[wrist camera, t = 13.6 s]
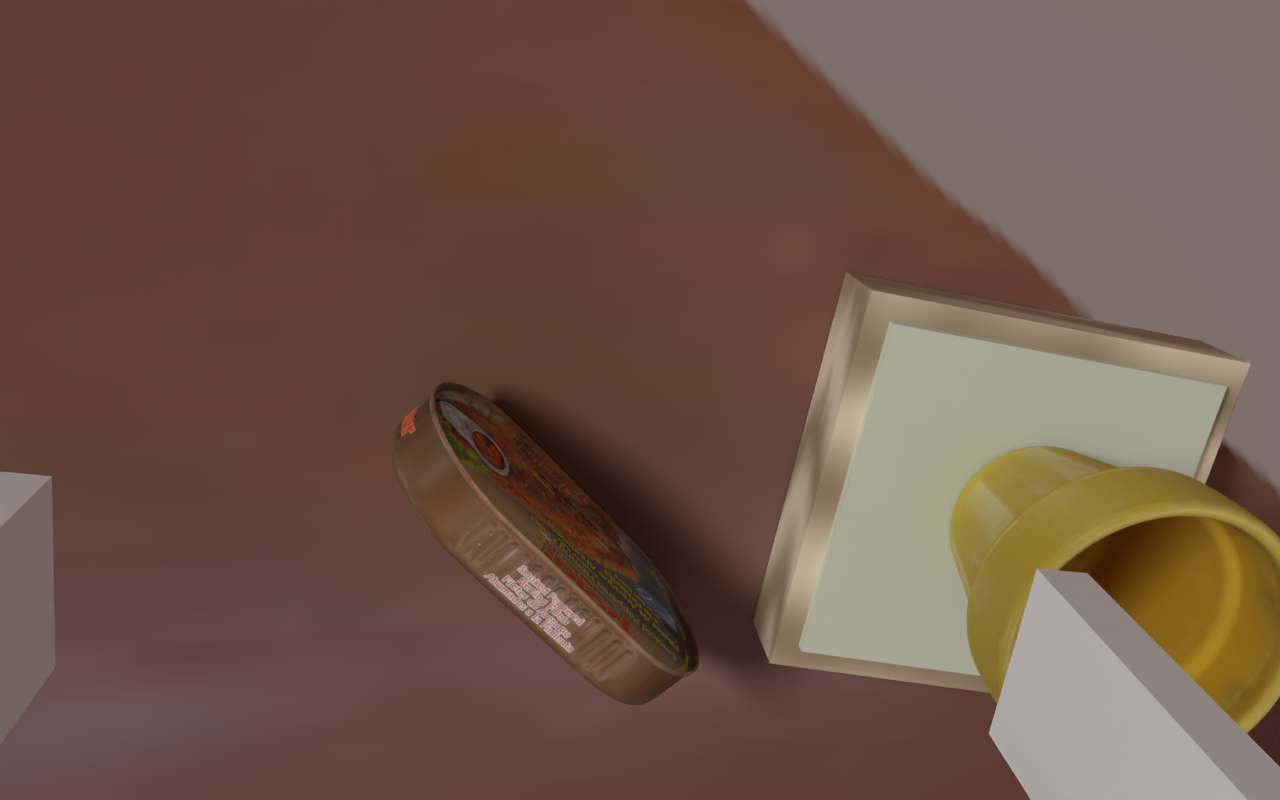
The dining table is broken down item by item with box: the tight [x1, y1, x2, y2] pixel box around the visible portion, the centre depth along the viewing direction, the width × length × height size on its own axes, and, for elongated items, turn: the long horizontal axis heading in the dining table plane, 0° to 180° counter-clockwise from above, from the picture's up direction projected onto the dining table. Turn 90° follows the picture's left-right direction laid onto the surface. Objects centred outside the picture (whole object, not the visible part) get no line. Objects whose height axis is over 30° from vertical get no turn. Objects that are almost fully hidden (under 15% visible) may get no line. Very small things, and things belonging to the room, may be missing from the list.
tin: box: [392, 382, 699, 705], centre depth 43 cm, size 15×3×8 cm, turn 41°
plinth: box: [753, 272, 1251, 693], centre depth 47 cm, size 16×16×4 cm
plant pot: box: [950, 446, 1280, 734], centre depth 40 cm, size 10×10×10 cm
